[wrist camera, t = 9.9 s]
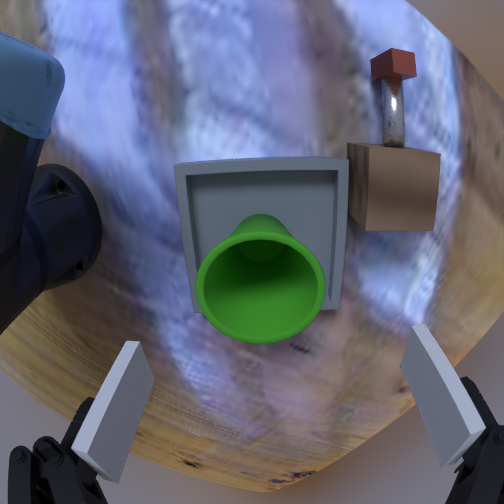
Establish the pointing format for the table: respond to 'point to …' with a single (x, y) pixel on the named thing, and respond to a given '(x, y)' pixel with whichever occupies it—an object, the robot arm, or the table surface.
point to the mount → (392, 187)
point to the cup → (260, 283)
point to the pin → (393, 91)
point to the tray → (266, 207)
